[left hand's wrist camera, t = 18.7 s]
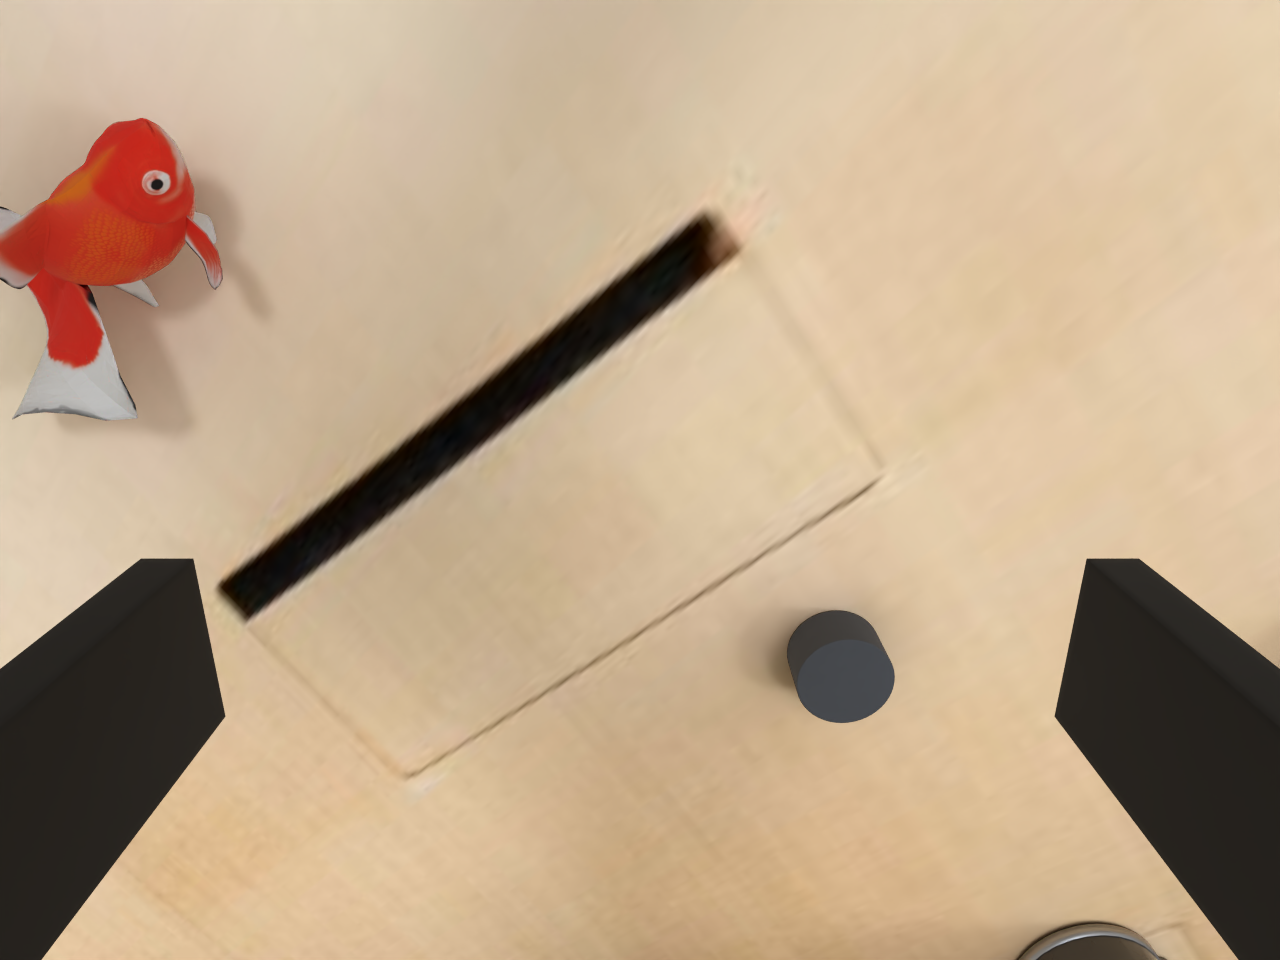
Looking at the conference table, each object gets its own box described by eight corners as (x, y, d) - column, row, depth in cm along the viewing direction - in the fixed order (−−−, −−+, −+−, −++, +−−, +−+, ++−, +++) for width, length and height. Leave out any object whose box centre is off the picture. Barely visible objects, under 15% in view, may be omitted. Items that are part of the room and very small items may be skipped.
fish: (343, 324, 35) (86, 345, 27) (174, 448, 44) (-59, 492, 36) (245, 83, 35) (-43, 29, 27) (96, 256, 44) (-155, 256, 35)
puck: (789, 610, 45) (799, 639, 42) (883, 610, 45) (900, 639, 42) (784, 690, 47) (793, 723, 44) (874, 689, 47) (889, 723, 44)
